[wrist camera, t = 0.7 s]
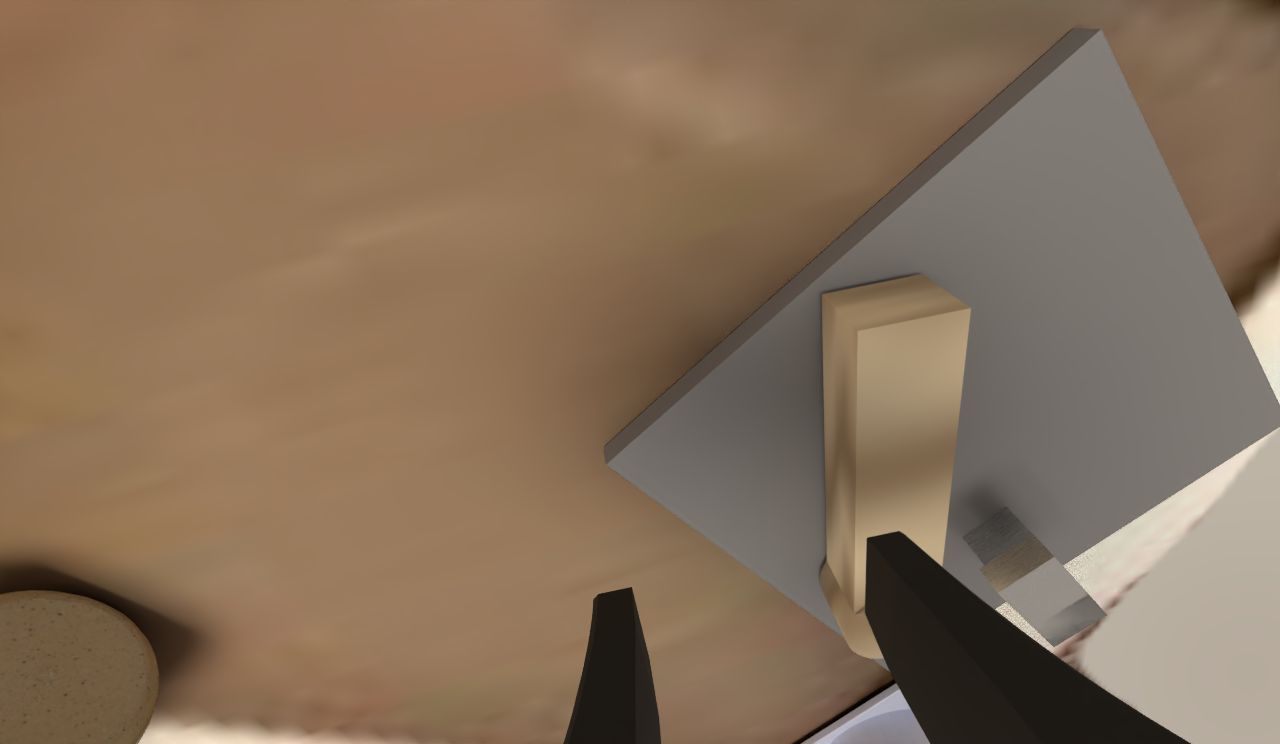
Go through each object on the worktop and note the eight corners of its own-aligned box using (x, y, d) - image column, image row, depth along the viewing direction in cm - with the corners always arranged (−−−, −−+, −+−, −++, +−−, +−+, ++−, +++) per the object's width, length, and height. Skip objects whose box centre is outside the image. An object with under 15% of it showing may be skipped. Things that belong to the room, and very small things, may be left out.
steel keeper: (1025, 526, 25) (1106, 615, 21) (981, 556, 25) (1053, 646, 22) (974, 471, 23) (1054, 556, 19) (928, 504, 23) (997, 593, 20)
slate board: (1261, 407, 24) (1287, 421, 24) (883, 654, 29) (892, 674, 28) (1073, 28, 17) (1101, 29, 16) (603, 446, 22) (605, 464, 21)
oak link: (907, 593, 25) (959, 676, 22) (820, 611, 25) (859, 697, 22) (931, 272, 18) (1011, 325, 15) (811, 296, 18) (866, 354, 15)
